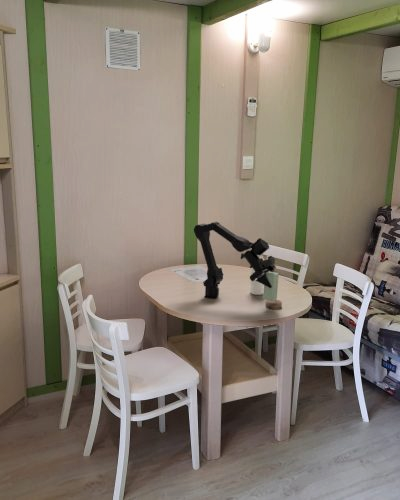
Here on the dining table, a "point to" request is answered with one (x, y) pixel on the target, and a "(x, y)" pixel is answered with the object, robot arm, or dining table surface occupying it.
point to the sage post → (271, 292)
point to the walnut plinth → (274, 304)
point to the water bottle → (256, 283)
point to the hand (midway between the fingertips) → (273, 286)
